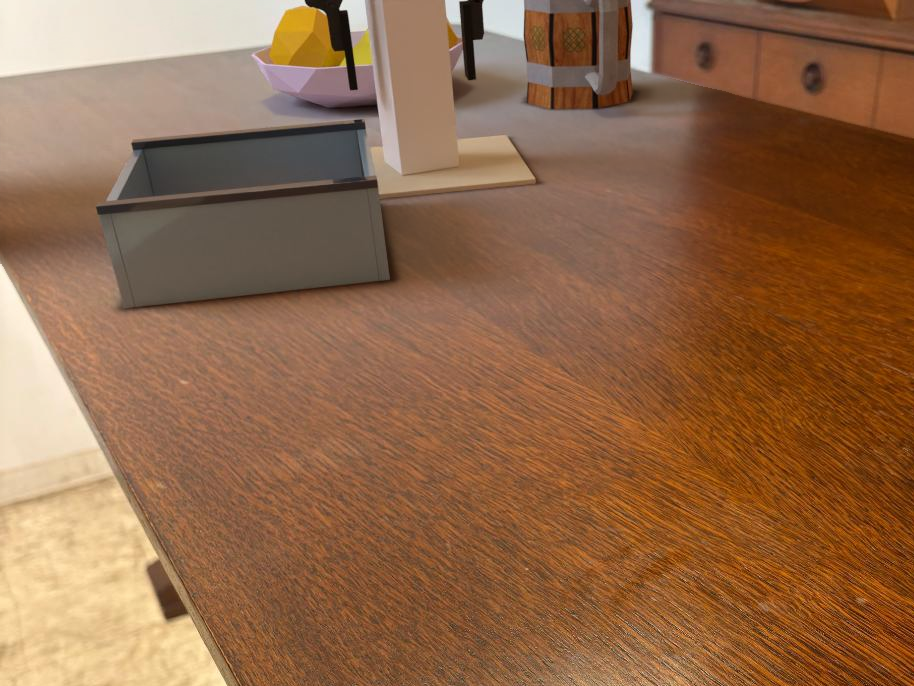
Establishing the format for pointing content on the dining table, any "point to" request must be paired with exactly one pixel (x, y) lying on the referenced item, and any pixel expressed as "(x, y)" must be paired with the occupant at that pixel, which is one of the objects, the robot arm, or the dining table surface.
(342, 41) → the robot arm
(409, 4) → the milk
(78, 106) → the dining table surface
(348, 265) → the gray open box
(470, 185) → the mat
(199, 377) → the dining table surface
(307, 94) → the fruit bowl
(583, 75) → the mug
